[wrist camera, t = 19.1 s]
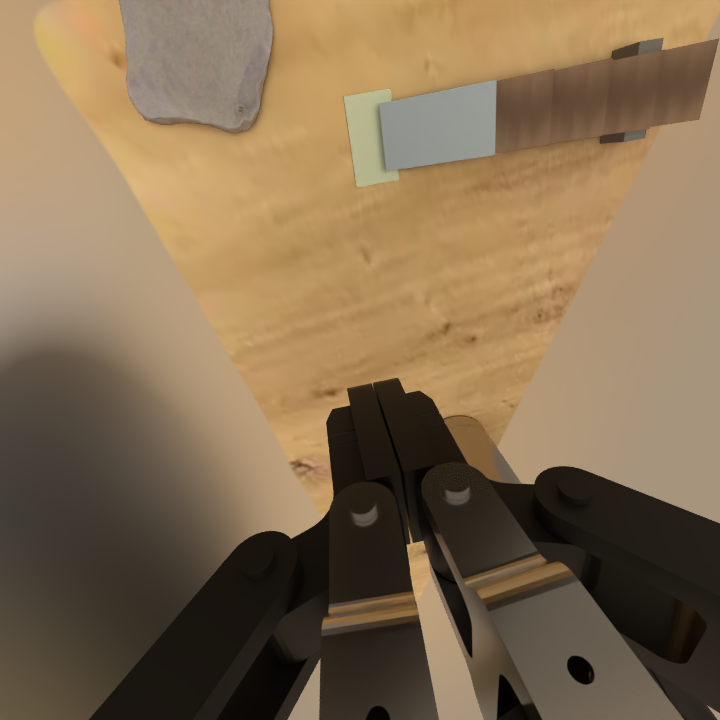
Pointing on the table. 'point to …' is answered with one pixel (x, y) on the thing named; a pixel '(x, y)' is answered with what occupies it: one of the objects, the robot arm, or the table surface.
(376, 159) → the pad
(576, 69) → the domino
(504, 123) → the domino
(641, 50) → the block
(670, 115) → the domino
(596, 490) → the robot arm
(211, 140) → the table surface
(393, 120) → the domino
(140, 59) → the stone block
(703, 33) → the table surface
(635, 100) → the domino
